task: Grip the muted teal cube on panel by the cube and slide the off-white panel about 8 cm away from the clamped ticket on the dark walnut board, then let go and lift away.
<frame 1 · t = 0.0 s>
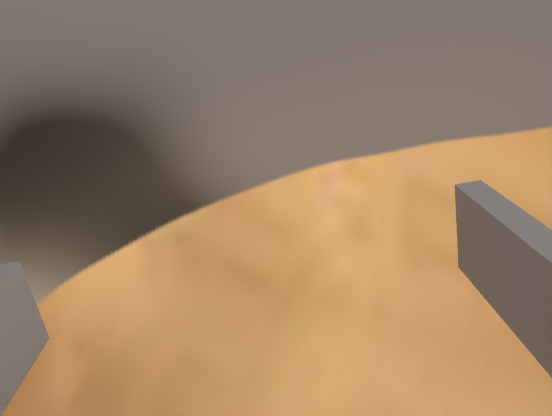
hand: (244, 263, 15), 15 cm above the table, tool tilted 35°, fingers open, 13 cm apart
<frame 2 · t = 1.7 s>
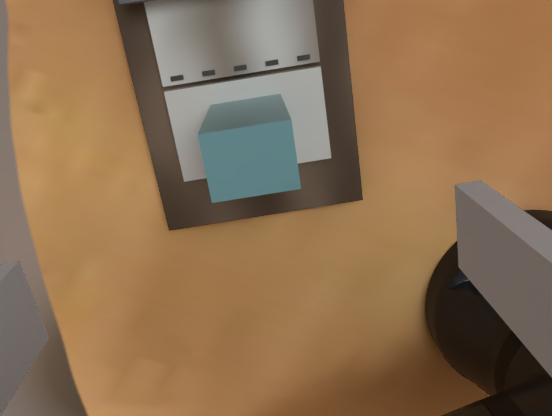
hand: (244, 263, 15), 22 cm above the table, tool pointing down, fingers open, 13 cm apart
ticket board: (241, 70, 34), on the table
teal cube on panel: (250, 139, 29), point 7 cm above the table, slide at 0.0 cm
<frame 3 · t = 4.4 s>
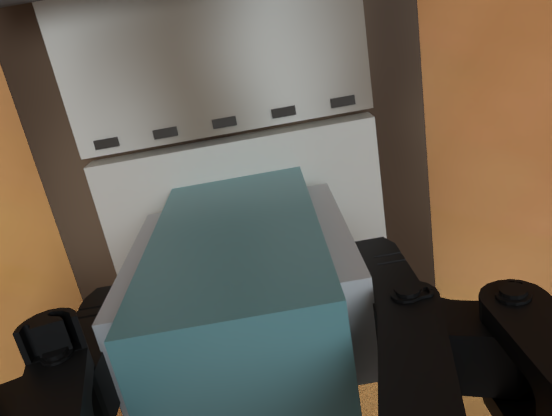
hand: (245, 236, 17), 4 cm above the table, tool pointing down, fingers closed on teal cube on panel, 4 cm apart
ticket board: (229, 119, 20), on the table
teal cube on panel: (244, 276, 15), point 7 cm above the table, slide at 0.0 cm, touching gripper
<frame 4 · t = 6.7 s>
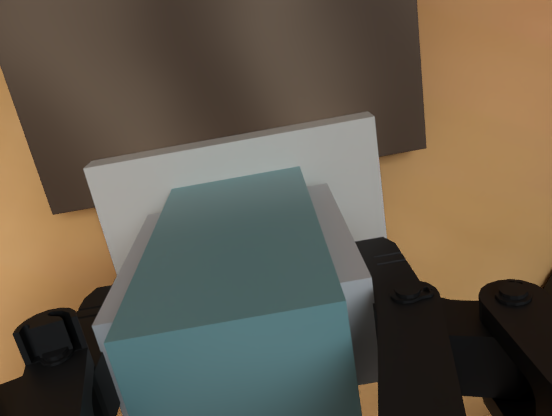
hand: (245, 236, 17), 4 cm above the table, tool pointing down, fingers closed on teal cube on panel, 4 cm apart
teal cube on panel: (244, 276, 15), point 7 cm above the table, slide at 8.0 cm, touching gripper
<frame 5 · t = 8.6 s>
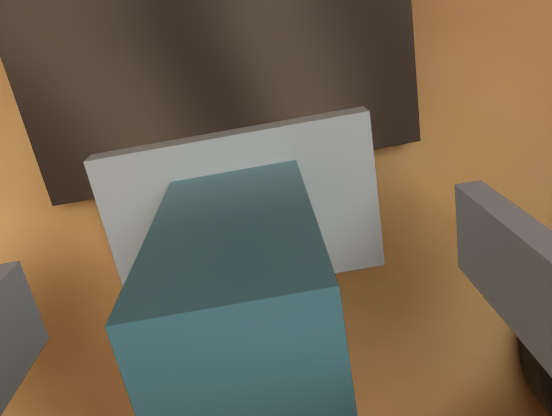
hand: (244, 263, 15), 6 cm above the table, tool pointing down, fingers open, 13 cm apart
teal cube on panel: (241, 266, 15), point 7 cm above the table, slide at 8.0 cm
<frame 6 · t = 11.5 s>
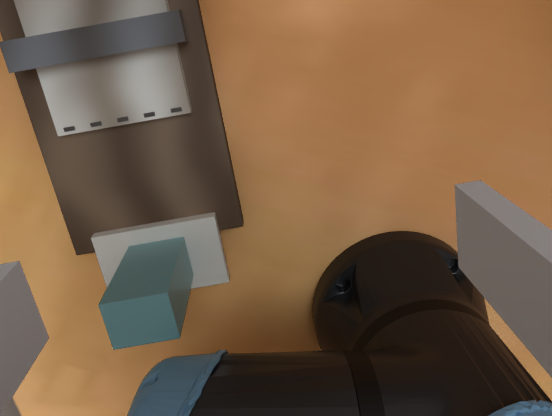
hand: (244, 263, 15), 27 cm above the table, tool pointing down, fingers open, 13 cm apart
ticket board: (131, 118, 40), on the table
teal cube on panel: (153, 284, 38), point 7 cm above the table, slide at 8.0 cm
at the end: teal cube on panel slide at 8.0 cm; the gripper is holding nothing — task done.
